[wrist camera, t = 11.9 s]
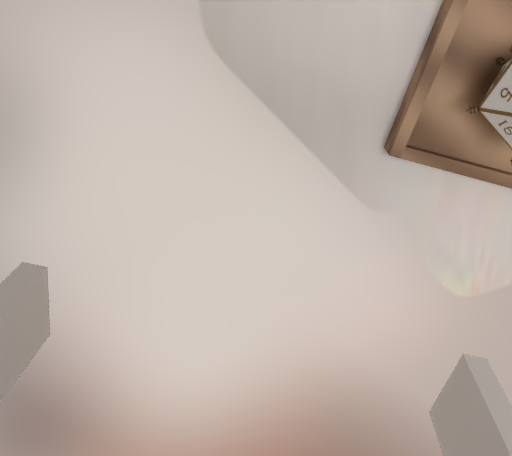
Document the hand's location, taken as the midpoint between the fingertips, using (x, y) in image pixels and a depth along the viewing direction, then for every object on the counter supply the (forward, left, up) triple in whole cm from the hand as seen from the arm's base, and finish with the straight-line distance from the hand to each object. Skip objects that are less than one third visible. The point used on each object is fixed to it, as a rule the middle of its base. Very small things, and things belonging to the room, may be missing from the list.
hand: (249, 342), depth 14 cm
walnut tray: (-8, +17, -27) cm, 33 cm away
